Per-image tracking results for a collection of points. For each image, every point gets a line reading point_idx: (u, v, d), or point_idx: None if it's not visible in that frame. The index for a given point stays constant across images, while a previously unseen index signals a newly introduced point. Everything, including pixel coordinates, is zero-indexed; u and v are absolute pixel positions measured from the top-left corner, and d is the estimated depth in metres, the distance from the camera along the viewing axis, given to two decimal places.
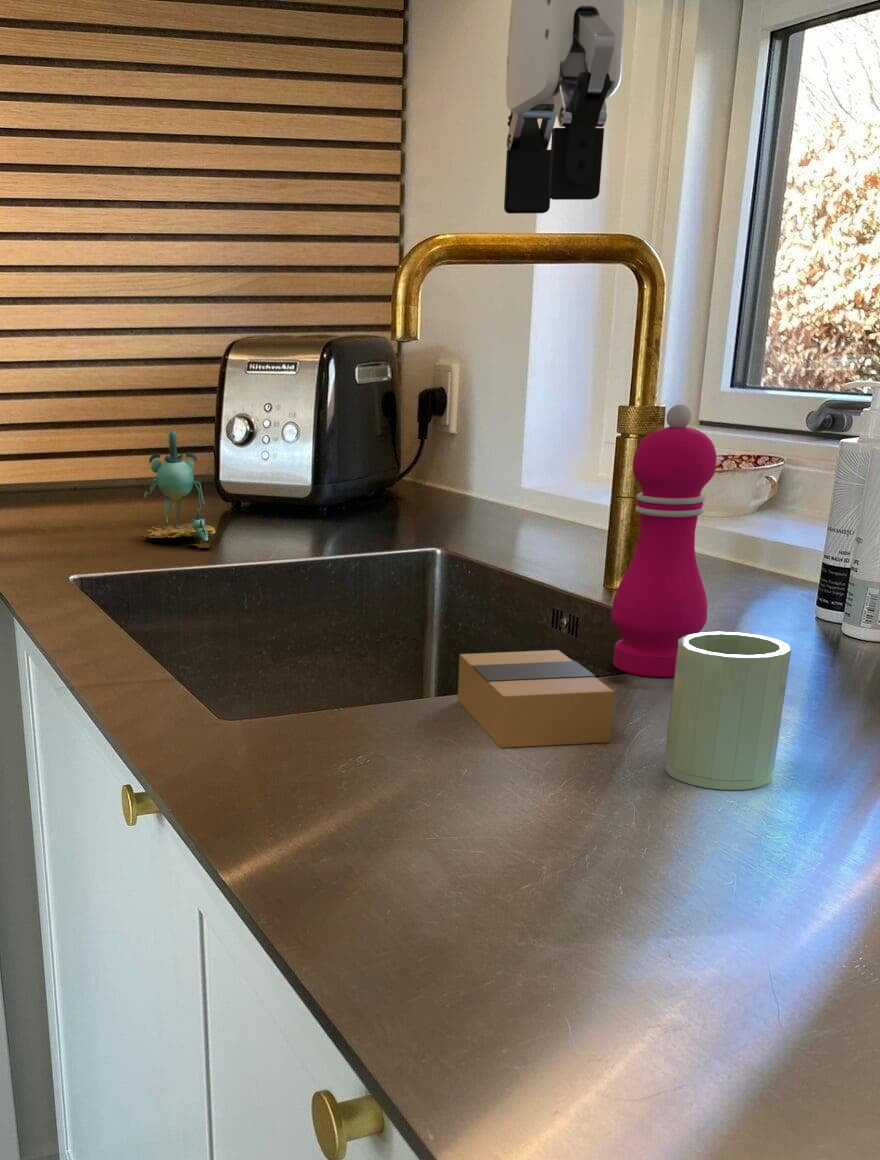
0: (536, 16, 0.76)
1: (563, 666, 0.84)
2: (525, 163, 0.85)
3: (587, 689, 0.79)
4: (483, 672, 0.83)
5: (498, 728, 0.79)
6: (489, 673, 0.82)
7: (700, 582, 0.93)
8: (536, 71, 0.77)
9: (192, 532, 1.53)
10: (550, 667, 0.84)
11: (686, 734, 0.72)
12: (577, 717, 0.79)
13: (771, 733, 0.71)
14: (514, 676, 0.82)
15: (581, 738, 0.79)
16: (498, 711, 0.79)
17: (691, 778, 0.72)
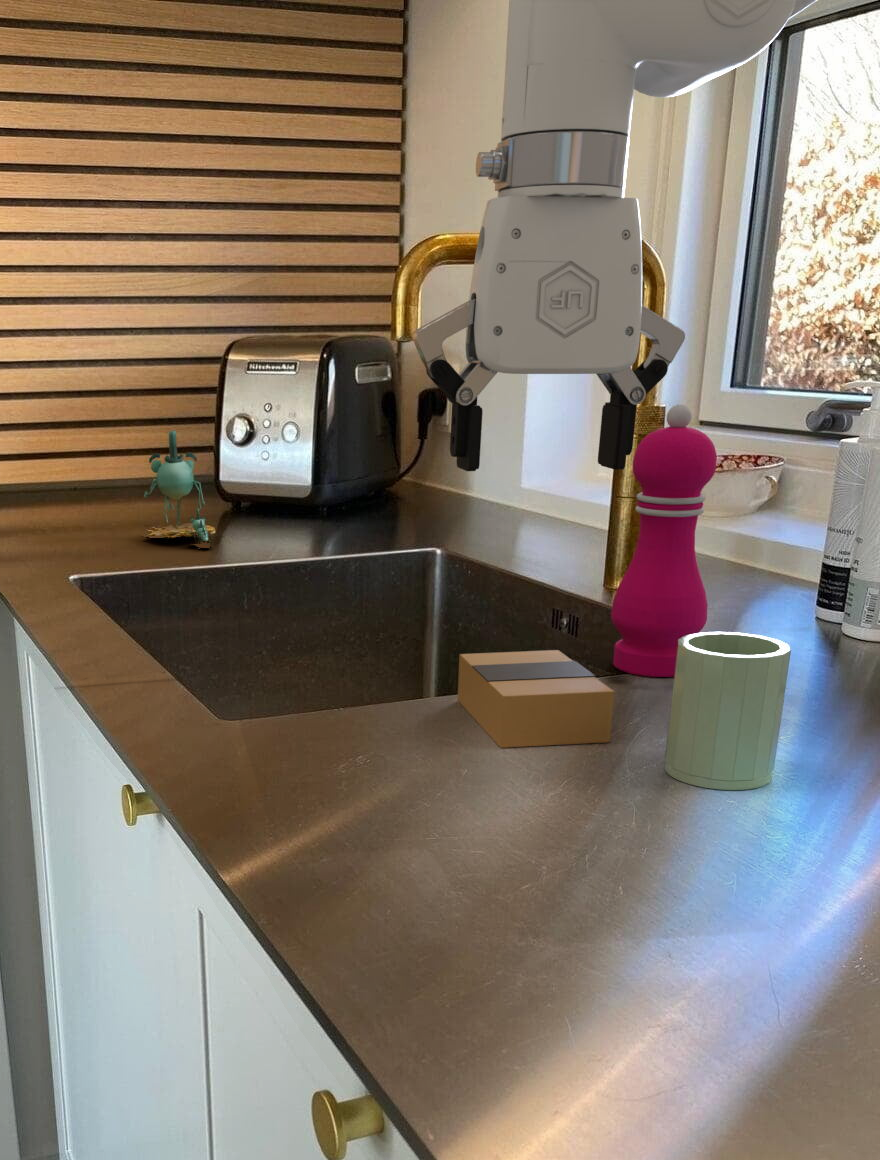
0: None
1: (563, 666, 0.84)
2: (607, 417, 0.79)
3: (587, 689, 0.79)
4: (483, 672, 0.83)
5: (498, 728, 0.79)
6: (489, 673, 0.82)
7: (700, 582, 0.93)
8: None
9: (192, 532, 1.53)
10: (550, 667, 0.84)
11: (686, 734, 0.72)
12: (577, 717, 0.79)
13: (771, 733, 0.71)
14: (514, 676, 0.82)
15: (581, 738, 0.79)
16: (498, 711, 0.79)
17: (691, 778, 0.72)
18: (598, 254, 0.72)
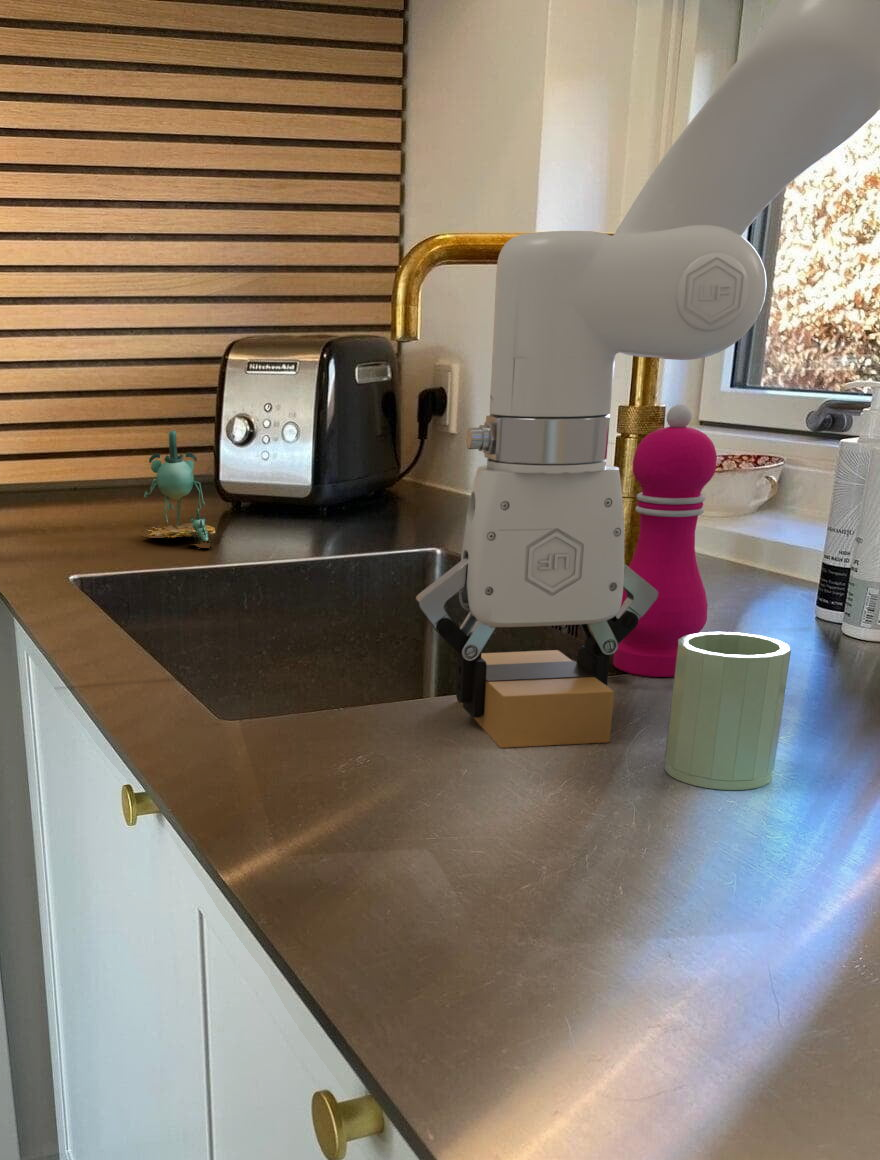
0: None
1: (563, 666, 0.84)
2: (582, 662, 0.84)
3: (587, 689, 0.79)
4: None
5: (497, 728, 0.79)
6: (489, 673, 0.82)
7: (700, 582, 0.93)
8: None
9: (192, 532, 1.53)
10: (550, 667, 0.84)
11: (686, 734, 0.72)
12: (577, 718, 0.79)
13: (771, 733, 0.71)
14: (514, 676, 0.82)
15: (580, 738, 0.79)
16: (498, 711, 0.79)
17: (691, 778, 0.72)
18: (582, 521, 0.77)
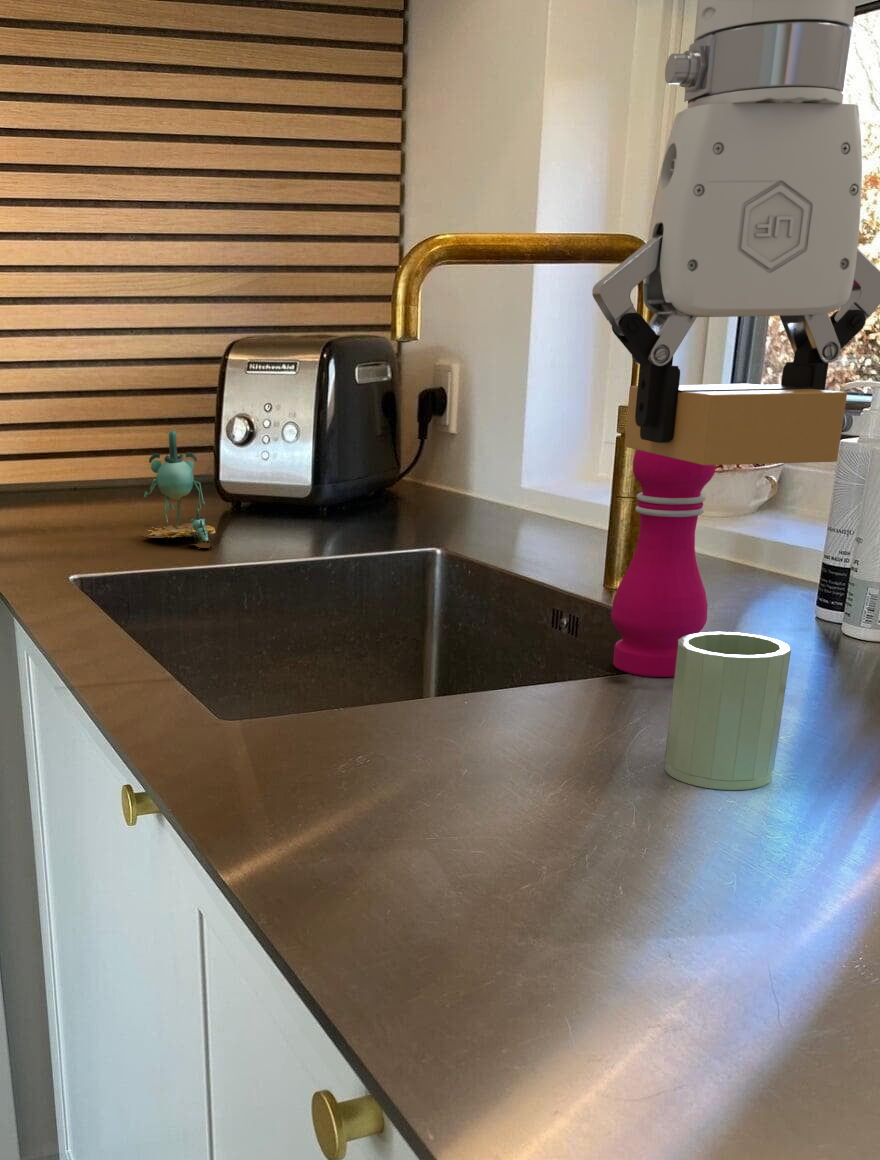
0: None
1: None
2: (791, 379, 0.68)
3: None
4: None
5: (699, 442, 0.64)
6: (679, 388, 0.67)
7: (700, 582, 0.93)
8: None
9: (192, 532, 1.53)
10: (751, 386, 0.68)
11: (686, 734, 0.72)
12: (799, 427, 0.63)
13: (771, 733, 0.71)
14: None
15: (802, 455, 0.64)
16: (701, 419, 0.63)
17: (691, 778, 0.72)
18: (813, 172, 0.61)
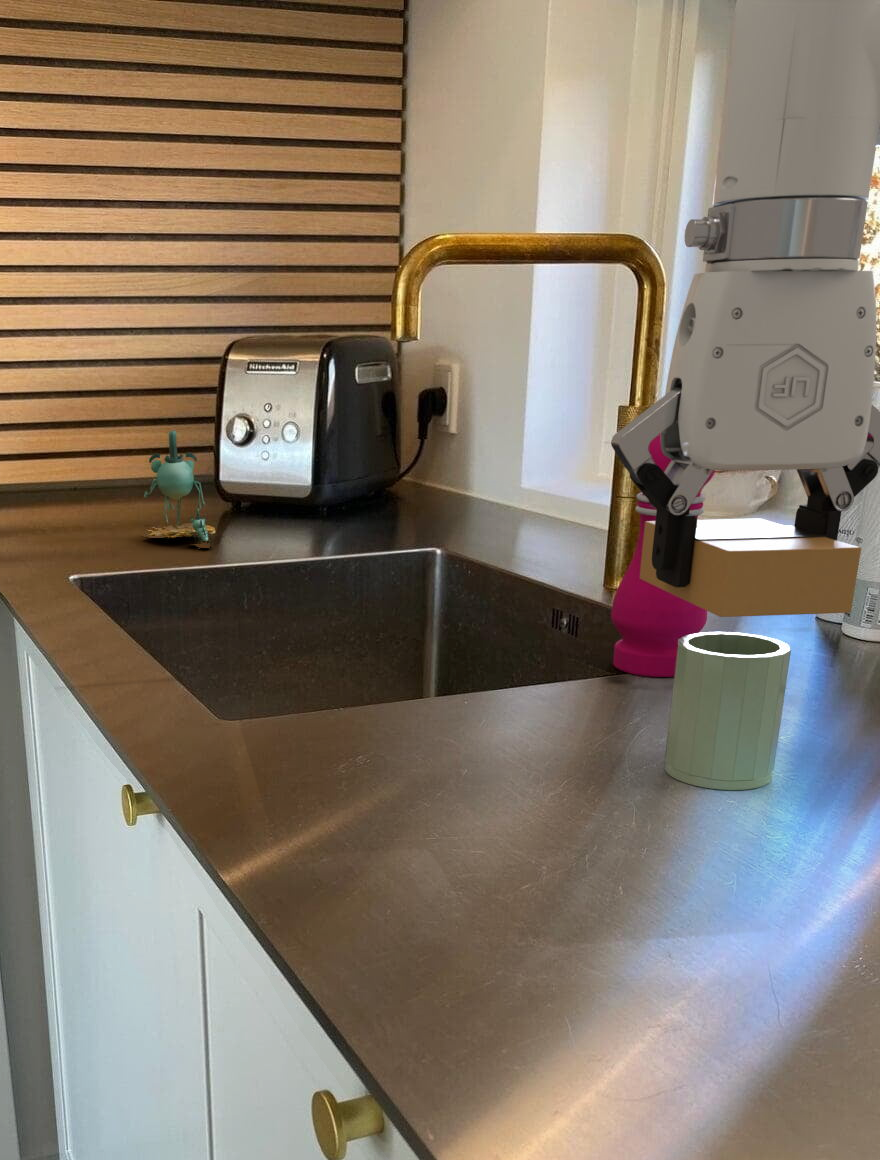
0: None
1: (780, 529, 0.70)
2: (804, 523, 0.69)
3: (827, 546, 0.65)
4: None
5: (716, 594, 0.65)
6: None
7: None
8: None
9: (192, 532, 1.53)
10: (765, 530, 0.69)
11: (686, 734, 0.72)
12: (814, 580, 0.64)
13: (771, 733, 0.71)
14: (728, 536, 0.67)
15: (817, 607, 0.65)
16: (718, 572, 0.64)
17: (691, 778, 0.72)
18: (829, 335, 0.63)
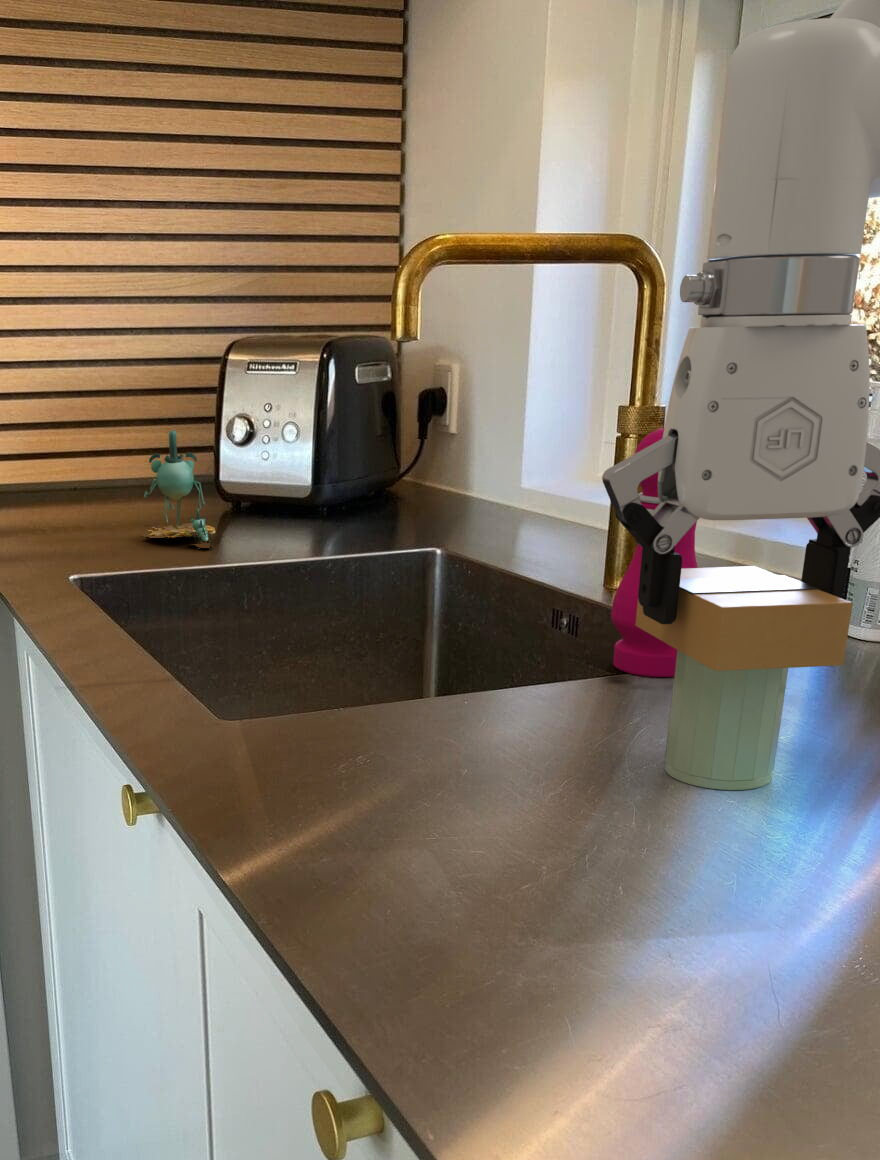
0: None
1: (773, 580, 0.71)
2: (814, 558, 0.70)
3: (819, 601, 0.66)
4: (682, 585, 0.69)
5: (710, 648, 0.66)
6: (690, 586, 0.69)
7: None
8: None
9: (192, 532, 1.53)
10: (759, 581, 0.70)
11: (686, 734, 0.72)
12: (807, 635, 0.65)
13: (771, 733, 0.71)
14: (722, 589, 0.68)
15: (809, 660, 0.66)
16: (712, 627, 0.66)
17: (691, 778, 0.72)
18: (823, 388, 0.64)
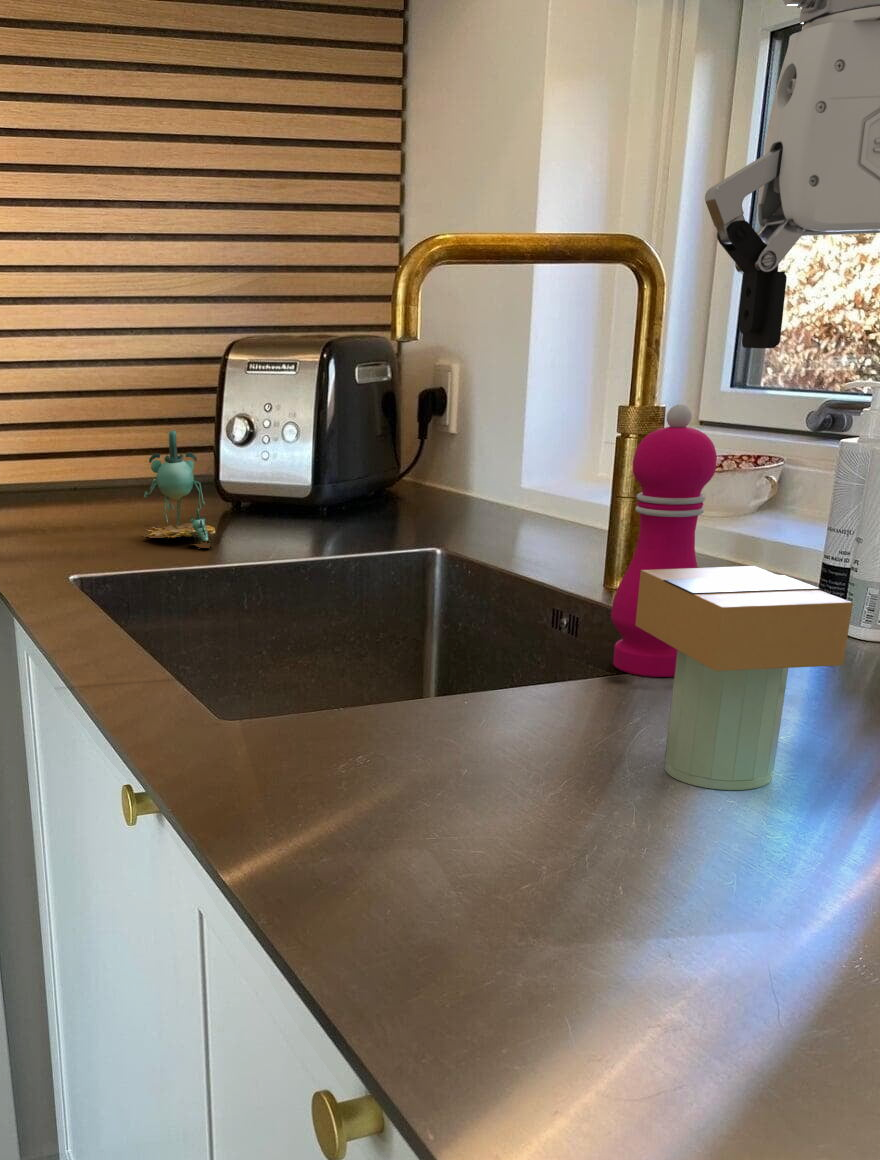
0: None
1: (773, 580, 0.71)
2: None
3: (819, 601, 0.66)
4: (682, 585, 0.69)
5: (710, 648, 0.66)
6: (690, 586, 0.69)
7: None
8: None
9: (192, 532, 1.53)
10: (759, 581, 0.70)
11: (686, 734, 0.72)
12: (807, 635, 0.65)
13: (771, 733, 0.71)
14: (722, 589, 0.68)
15: (809, 660, 0.66)
16: (712, 627, 0.66)
17: (691, 778, 0.72)
18: None
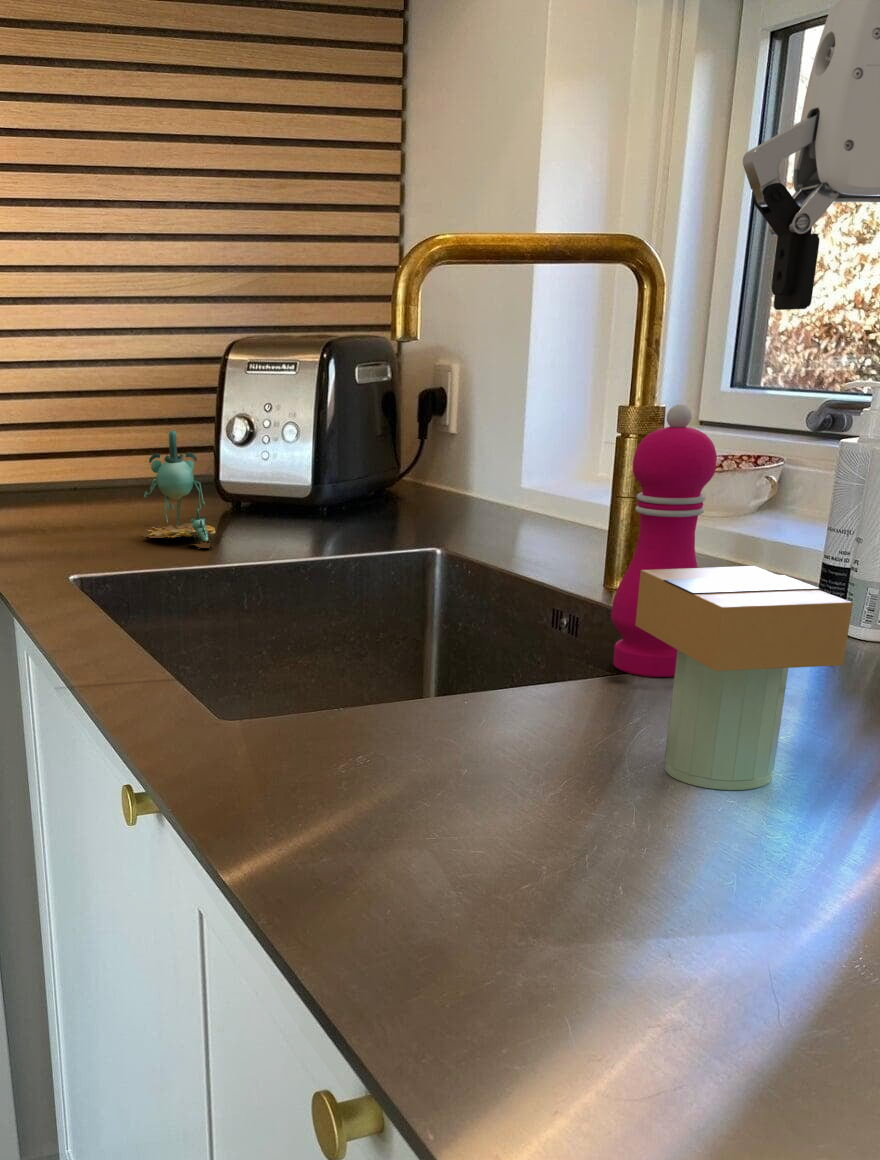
0: None
1: (773, 580, 0.71)
2: None
3: (819, 601, 0.66)
4: (682, 585, 0.69)
5: (710, 648, 0.66)
6: (690, 586, 0.69)
7: None
8: None
9: (192, 532, 1.53)
10: (759, 581, 0.70)
11: (686, 734, 0.72)
12: (807, 635, 0.65)
13: (771, 733, 0.71)
14: (722, 589, 0.68)
15: (809, 660, 0.66)
16: (712, 627, 0.66)
17: (691, 778, 0.72)
18: None
